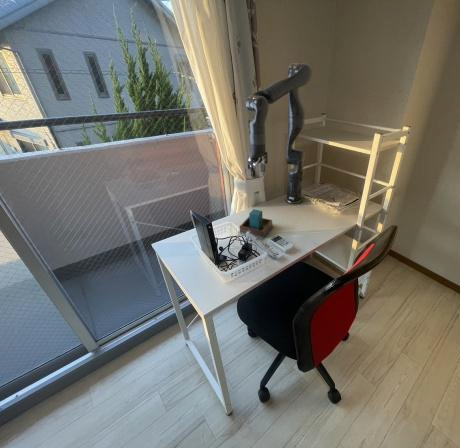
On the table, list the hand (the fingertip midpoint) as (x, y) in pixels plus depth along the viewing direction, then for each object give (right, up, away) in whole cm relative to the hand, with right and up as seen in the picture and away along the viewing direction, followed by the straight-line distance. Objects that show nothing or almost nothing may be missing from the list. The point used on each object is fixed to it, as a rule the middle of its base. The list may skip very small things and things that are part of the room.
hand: (258, 174), depth 126 cm
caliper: (+2, -37, -9) cm, 39 cm away
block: (-1, -28, +3) cm, 28 cm away
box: (-1, -29, +4) cm, 29 cm away
